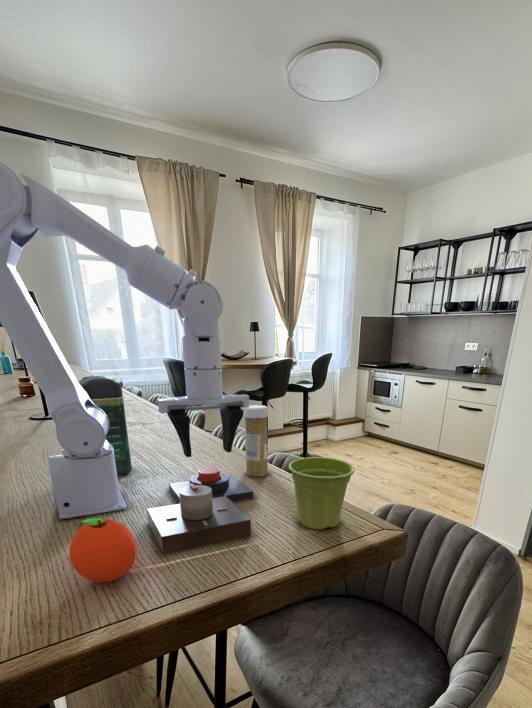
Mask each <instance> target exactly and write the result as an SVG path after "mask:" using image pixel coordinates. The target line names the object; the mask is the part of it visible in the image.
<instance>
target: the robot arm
mask: <svg viewBox="0 0 532 708" xmlns="http://www.w3.org/2000/svg"><path fill="white" fill-rule="evenodd" d="M20 176H21V177H22V178H23V181H25V183H26V184H23V181H22V180H21V179H20V177H19V175H18V174H17V173H16V171H14V170H13V169H12V168H11V167H10V166H8V165H7V164H6V163H4V162H3V161H1V160H0V324H1V326H2V327H3V329H4V331H5V333H6V335H7V336H8V338H9V340H10V341H11V342H12V344H13V346H14V347H15V349H16V351H17V353H18V354H19V355H20V358H21V359H22V361H23V362H24V363H25V365H26V367H27V369H28V370H29V372H30V374H31V376H32V377H33V379H34V380H35V382H36V384H37V386H38V387H39V389H40V391H41V392H42V394H43V395H44V398H45V400H46V404H47V409H48V413H49V415H50V417H51V418H52V420H53V423H54V425H55V436H56V440H57V442H58V443H59V445H60V447H61V448H62V449H61V454H57V455H50V456H48V457H47V458H48V466H49V472H50V478H51V484H52V487H53V492H52V496H53V501H54V504H55V505H56V507H57V512H58V518H59V520H65V519H66V520H67V519H73V518H79V517H85V516H91V515H97V514H104V513H109V512H116V511H122V510H126V509H127V505H126V502H125V500H124V497H123V494H122V493H121V491H120V486H119V478H118V476H117V471H116V464H115V457H114V450H113V446H112V445H111V444H109V443H108V442H107V440H106V439H105V436H106V434H107V433H108V430H109V420H108V417H107V415H106V414H105V413H104V411H103V410H102V409H100V408H99V407H97V406H96V405H95V404H94V403H93V402H92V401H91V399H90V397H89V396H88V394H87V393H86V391H85V390H84V389H83V388H82V387H81V385H80V384H79V383H78V381H79V380H78V379H77V377H76V376H75V373H74V372H73V370H72V368H71V367H70V365H69V363H68V361H67V360H66V358H65V356H64V354H63V353H62V351H61V349H60V347H59V345H58V343H57V342H56V340H55V338H54V336H53V334H52V332H51V330H50V329H49V327H48V326H47V324H46V322H45V320H44V318H43V316H42V315H41V313H40V312H39V309H38V307H37V306H36V304H35V302H34V301H33V298H32V297H31V294H30V293H29V292H28V289H27V288H26V286H25V284H24V282H23V281H22V279H21V277H20V275H19V273H18V272H17V270H16V269H17V266H18V262H19V261H20V256H21V254H22V252H23V249H24V247H25V246H26V245H28V244H29V242H30V241H32V239H34V238H35V237H36V235H37V234H38V233H39V232H40V233H41V234H42V235H43V236H44V237H46V238H51V237H67V238H69V240H72V241H74V242H75V243H77V244H79V245H80V246H82V247H84V248H86V249H87V250H89V251H91V252H92V253H94V254H95V255H98V256H99V257H101V258H103V259H104V260H106V261H108V262H110V263H111V264H113V265H115V266H117V267H118V268H120V269H122V270H123V271H124V272H125V276H126V278H127V281H128V284H129V286H131V287H132V288H134V289H136V290H137V291H140V292H141V293H142V294H144V295H146V296H147V297H149V298H151V299H152V300H154V301H156V302H158V303H159V304H161V305H162V306H163V307H166V308H168V309H169V310H171V311H172V310H177V312H178V314H179V316H180V317H181V319H182V334H183V335H182V337H181V338H182V339H181V340H182V353H183V355H182V356H183V367H184V381H185V395H186V396H184V395H183V396H176V397H167V398H157V408H158V412H159V413H160V414H166V415H167V417H168V418H169V420H170V422H171V424H172V426H173V427H174V429H175V432H176V433H177V436H178V438H179V441H180V443H181V448H182V451H183V455H184V456H185V457H186V458H191V457H192V444H191V436H190V435H191V430H190V429H191V428H190V427H191V417H190V416H188V412H189V411H190V412H191V411H203V410H205V411H206V410H218V409H219V412H220V419H221V427H222V447H223V451H225V452H226V453H232V452H233V451H232V449H233V445H234V441H235V436H236V433H237V430H238V428H239V425H240V423H241V422H242V419H243V417H244V408H247V407H249V406H250V395H248V394H245V393H244V394H224V392H223V391H224V390H223V370H222V345H221V344H222V343H221V336H220V321H219V318H220V317H221V315H222V313H223V309H224V302H223V301H222V298H221V295H220V293H219V292H218V289H217V288H216V287H215V286H214V285H213V284H212V283H210V282H208V281H206V280H199V279H197V280H196V276H197V272H195V270H192V269H189V271H188V270H186V269H185V268H183V267H182V266H180V265H179V264H177V263H176V262H174V261H173V260H171V259H170V258H168V257H167V256H165V254H166V250H165V249H163V248H162V247H160V246H159V245H156V246H155V248H153V247H152V246H150V245H149V244H143V245H138V246H132V245H131V244H129V243H128V242H126V241H125V240H124V239H122V238H121V237H119V236H118V235H117V234H115V233H113V232H112V231H111V230H109V229H108V228H106V227H105V226H104V225H102V224H101V223H100V222H97V221H96V220H95V219H93V218H92V217H90V216H89V215H88V214H86V213H85V212H83V211H82V210H80V209H79V208H78V207H76V206H75V205H73V203H70V202H69V201H67V200H66V199H65V198H64V197H62V196H60V195H59V194H57V192H54V191H53V190H51V189H50V188H48V187H47V186H45V185H43V184H42V183H40V182H38V181H37V180H35V179H34V178H33V177H29V176H28V175H25V174H23V173H20ZM242 408H243V409H242Z"/></svg>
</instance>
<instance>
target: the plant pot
mask: <svg viewBox="0 0 532 708" xmlns="http://www.w3.org/2000/svg"><path fill="white" fill-rule="evenodd" d="M288 470H289V471H290V472H291V479H292V480H293V485H294V493H295V504H296V505H295V506H296V513H297V515H296V516H297V521H298V522H299V523H300V524H301V525H302V526H304V527H306V528H307V529H308V528H309V529H312V530H325V529H327V528H336V527H337V526H338V524H339V522H340V519H341V514H342V510H343V505H344V501H345V496H346V491H347V488H348V484H349V483H350V481H351V478H352V476H353V475H354V473H355V471H356V468H355V466H354V465H353V464H351V463H350V462H348V461H345V460H342V459H338V458H333V457H325V456H311V457H309V456H308V457H303V458H298V459H294V460H292V461H290V462H289V463H288Z"/></svg>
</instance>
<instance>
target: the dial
mask: <svg viewBox="0 0 532 708" xmlns="http://www.w3.org/2000/svg"><path fill="white" fill-rule="evenodd" d="M179 495H180V507H181V516H182V517H183V518H185V519H188V520H201V519H206V518H208V517H210V516H212V514H213V500H212V489H211V488H210V487H208V486H203V485H194V484H193V483H192V484H189V486H187V487H184V488H182V489H181V490H180V491H179Z"/></svg>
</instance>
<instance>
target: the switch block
mask: <svg viewBox="0 0 532 708" xmlns="http://www.w3.org/2000/svg"><path fill="white" fill-rule="evenodd" d="M192 483H193V484H194V485H203V486H208V487H210V488H211V489H212V498H217V497H223V496H226V497H227V498H228V499H229V500H230V501H231V502H232V503H234V502H238V501H243V500H250V499H254V491H253V489H251V488H250V487H248V486H247V485H246V484H245V483H244V482H242V481H241V480H240V479H238V478H237V477H236V476H234V475H233V474H228V475H227V474H226V473H222V472H220V480H218V481H215V482H201V481H199V474H198V473H197V474H194V475H191V477H190V478H189V480H185V481H179V482H172V483H171V482H170V483H168V491H169V492H170V493H171V495H172V496H173V498H174V499H175V500H176V502H177V504H180V495H179V491H180V490H181V489H182V488H184V487H187V486H189V484H192Z"/></svg>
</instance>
